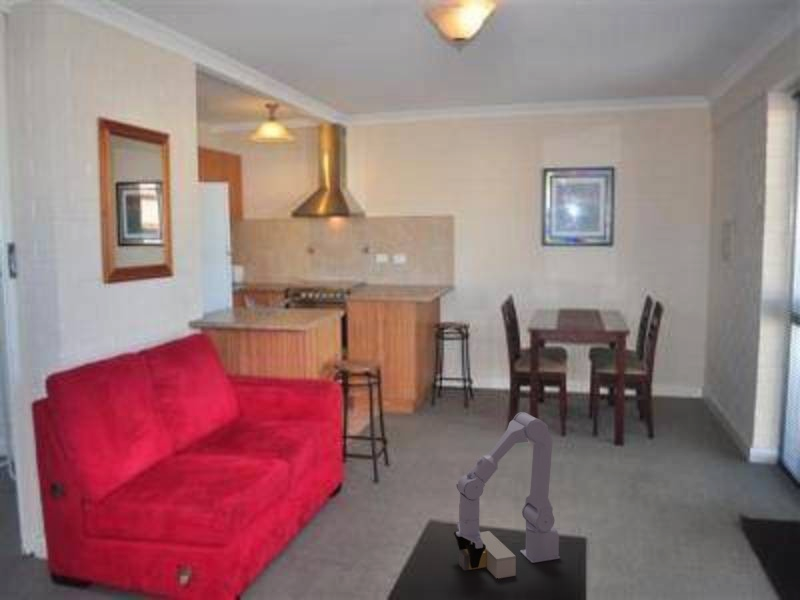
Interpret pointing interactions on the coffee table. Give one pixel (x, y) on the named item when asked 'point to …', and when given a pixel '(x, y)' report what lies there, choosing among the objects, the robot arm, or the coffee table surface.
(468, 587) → the coffee table surface
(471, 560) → the robot arm
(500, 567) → the socket block
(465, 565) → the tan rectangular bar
